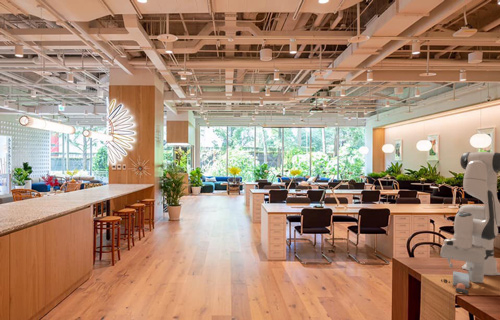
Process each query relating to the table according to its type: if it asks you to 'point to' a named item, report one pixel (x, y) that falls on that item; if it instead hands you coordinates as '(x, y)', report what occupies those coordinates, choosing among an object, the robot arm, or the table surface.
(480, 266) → the skincare box
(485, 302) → the table surface
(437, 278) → the table surface
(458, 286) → the ball
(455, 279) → the ramp
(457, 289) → the rail
